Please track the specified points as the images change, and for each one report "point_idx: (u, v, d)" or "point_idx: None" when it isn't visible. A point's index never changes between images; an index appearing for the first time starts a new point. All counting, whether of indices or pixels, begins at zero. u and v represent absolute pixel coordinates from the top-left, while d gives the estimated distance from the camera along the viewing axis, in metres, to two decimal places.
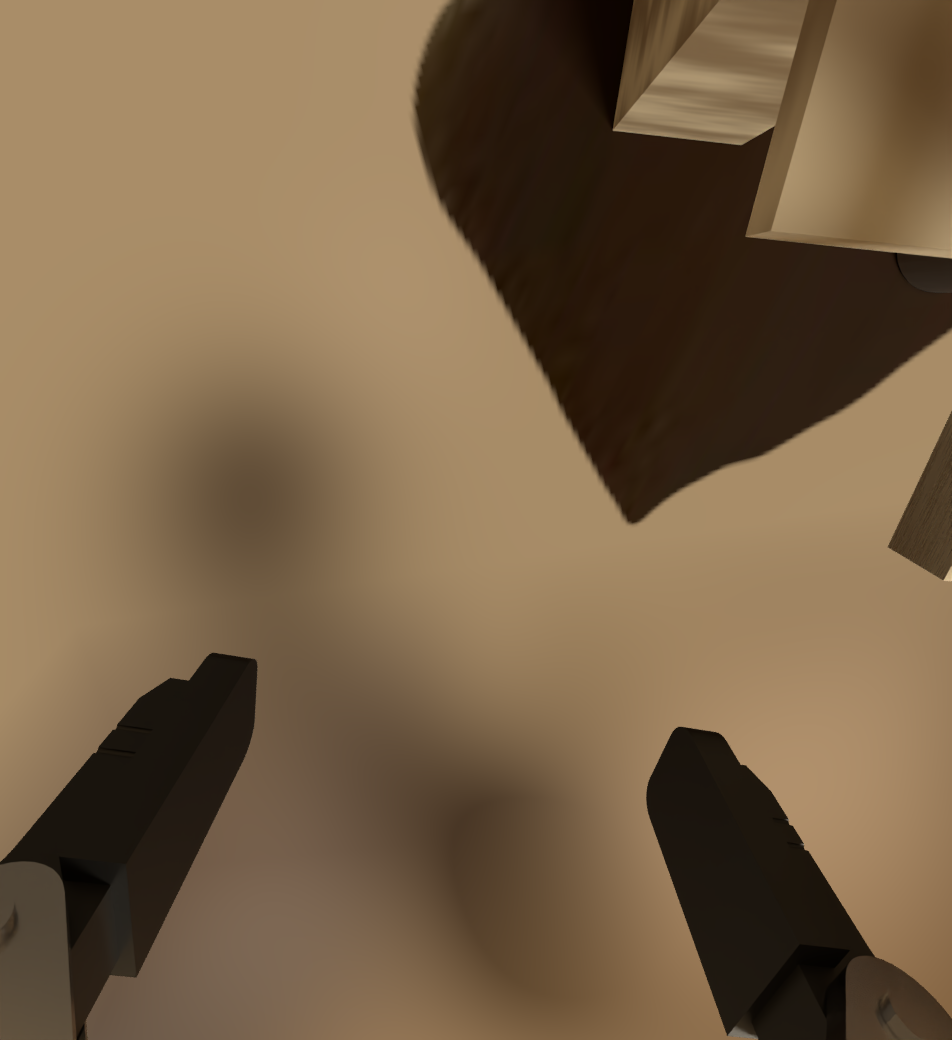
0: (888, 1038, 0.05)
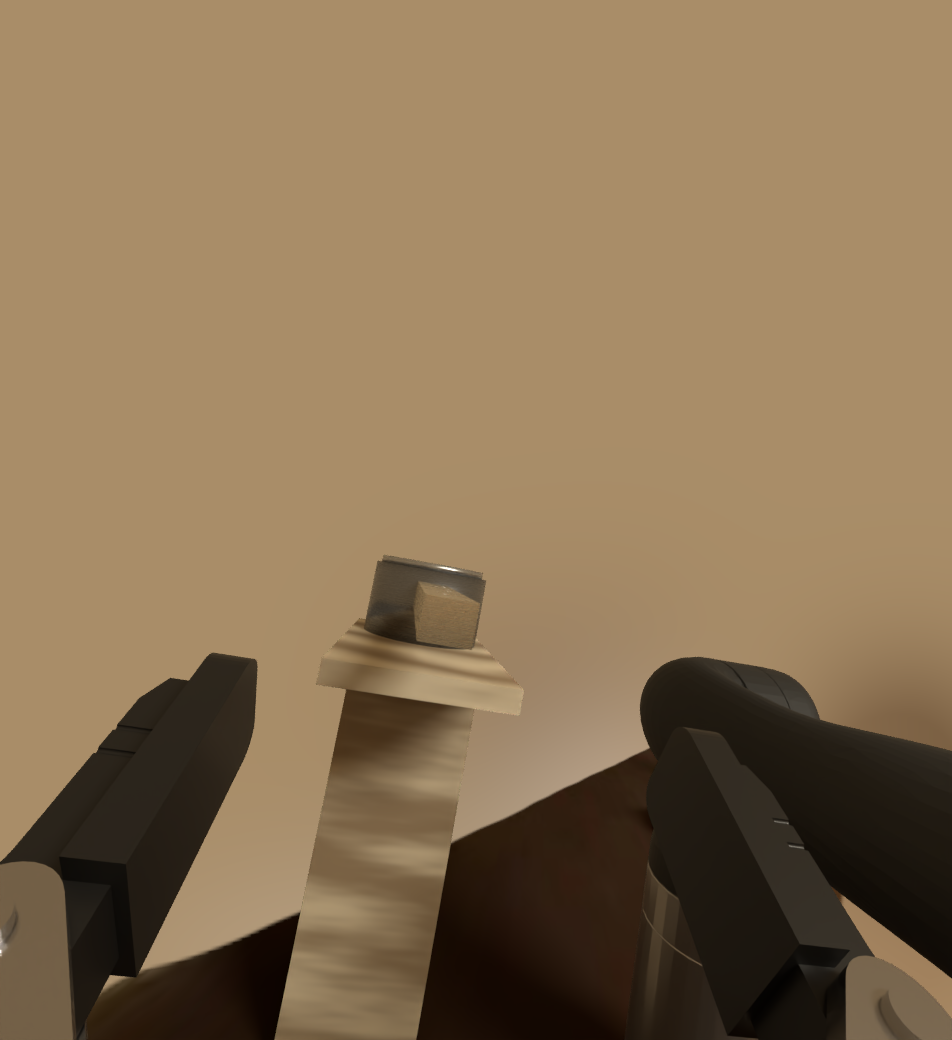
0: (888, 1038, 0.05)
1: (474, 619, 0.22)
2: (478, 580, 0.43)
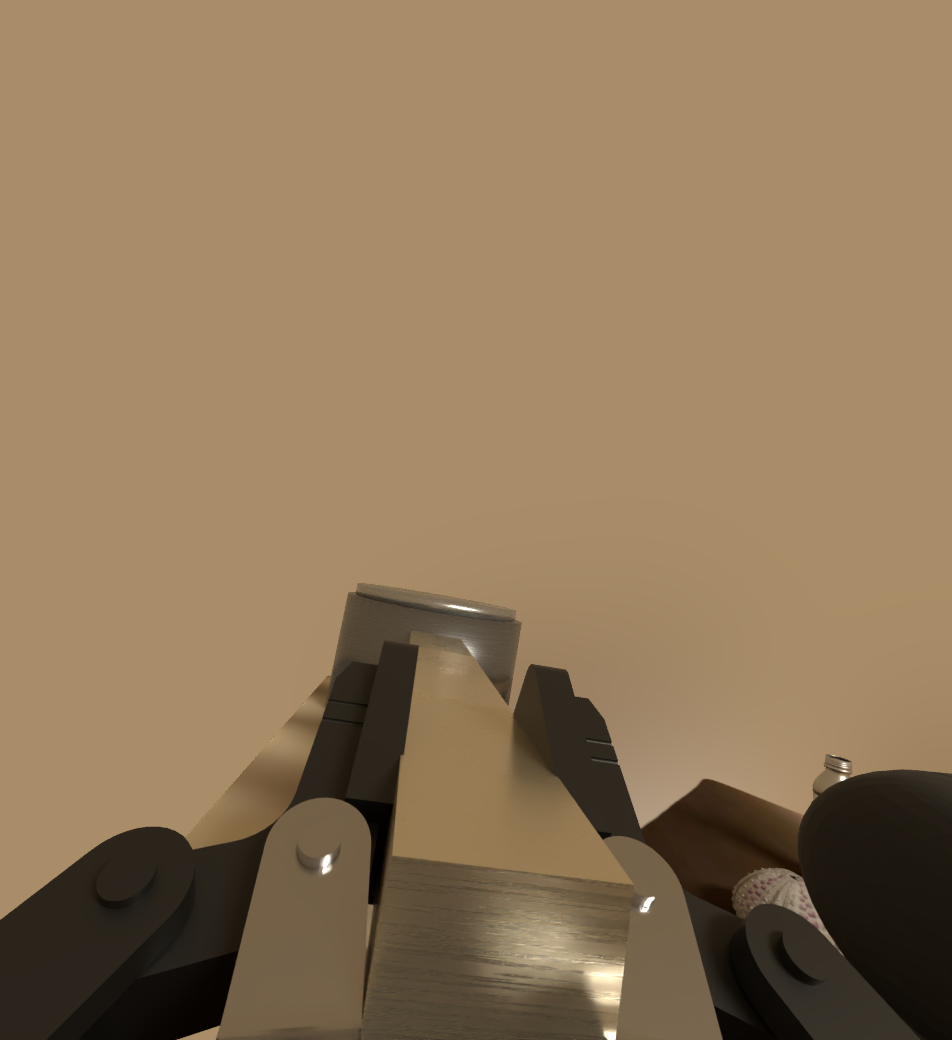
0: None
1: (612, 959, 0.05)
2: (511, 625, 0.26)
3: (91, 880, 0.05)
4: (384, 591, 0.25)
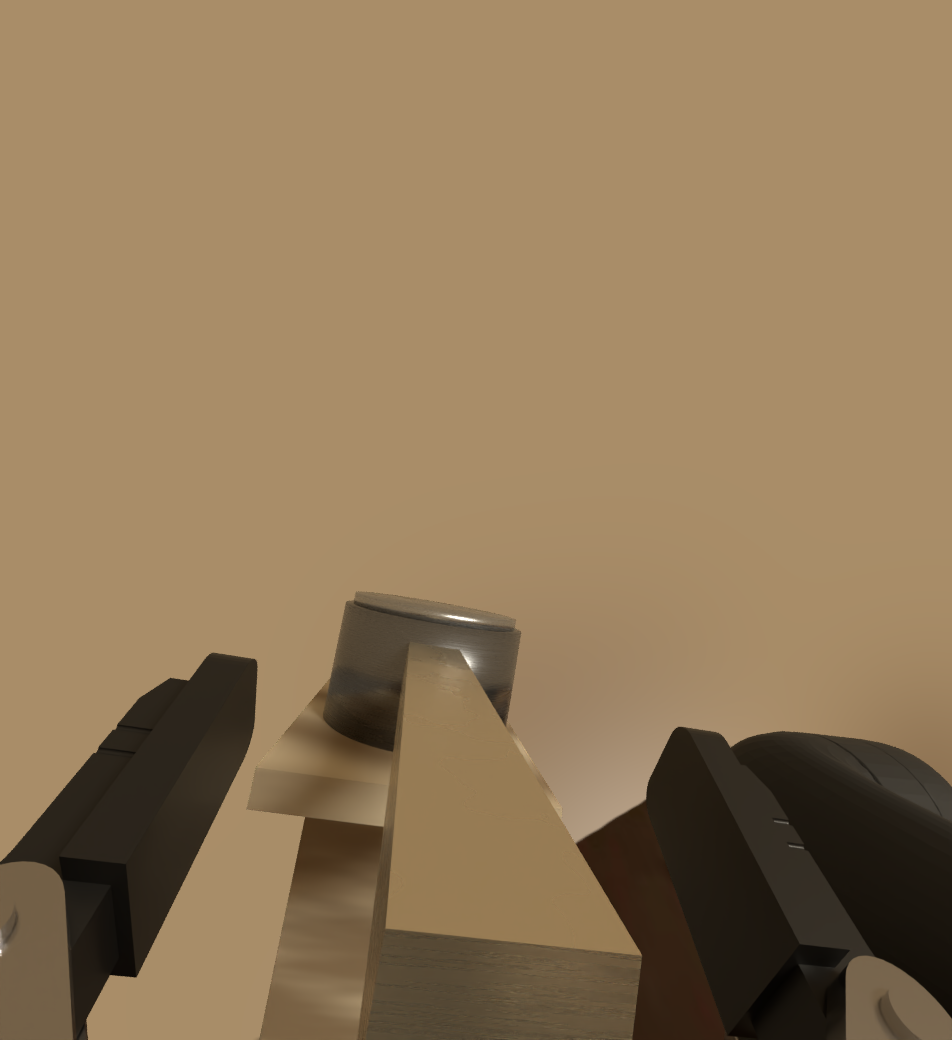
0: (889, 1038, 0.05)
1: (619, 1035, 0.05)
2: (511, 635, 0.26)
3: None
4: (382, 601, 0.25)
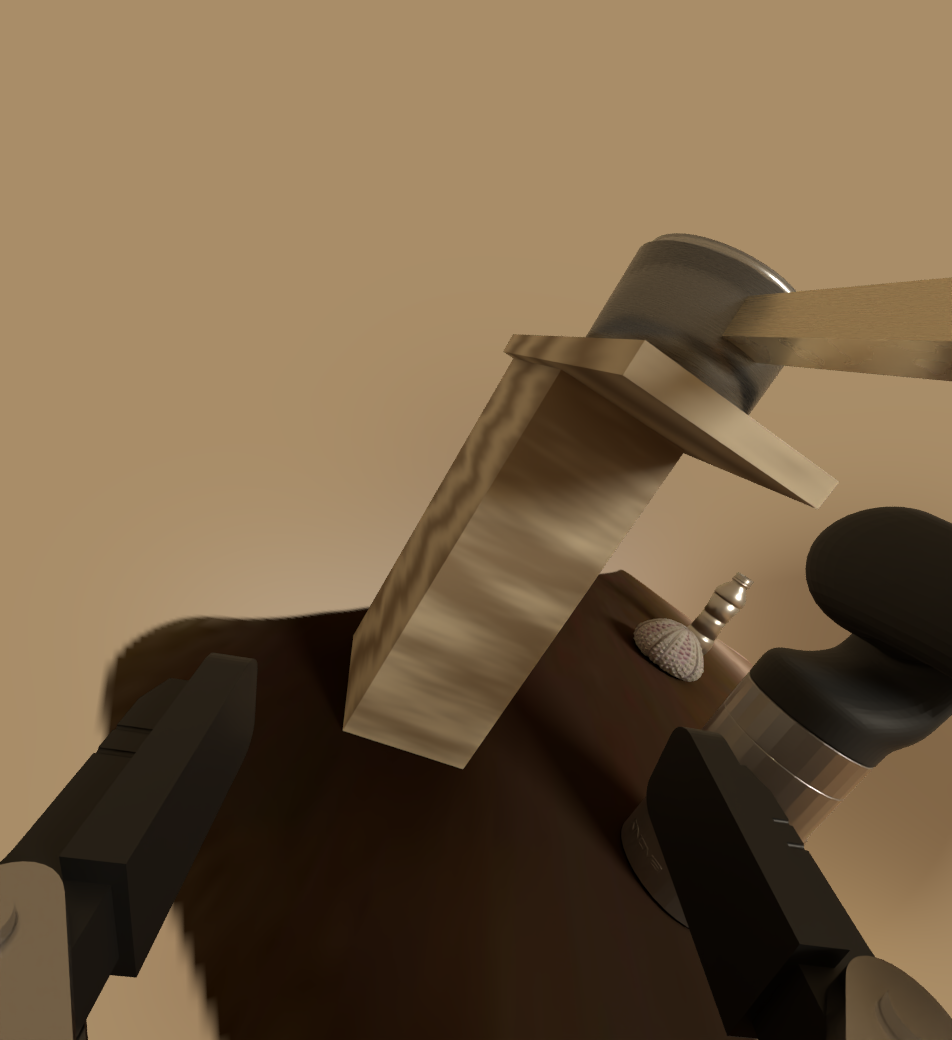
0: (888, 1038, 0.05)
1: None
2: None
3: None
4: (727, 246, 0.23)
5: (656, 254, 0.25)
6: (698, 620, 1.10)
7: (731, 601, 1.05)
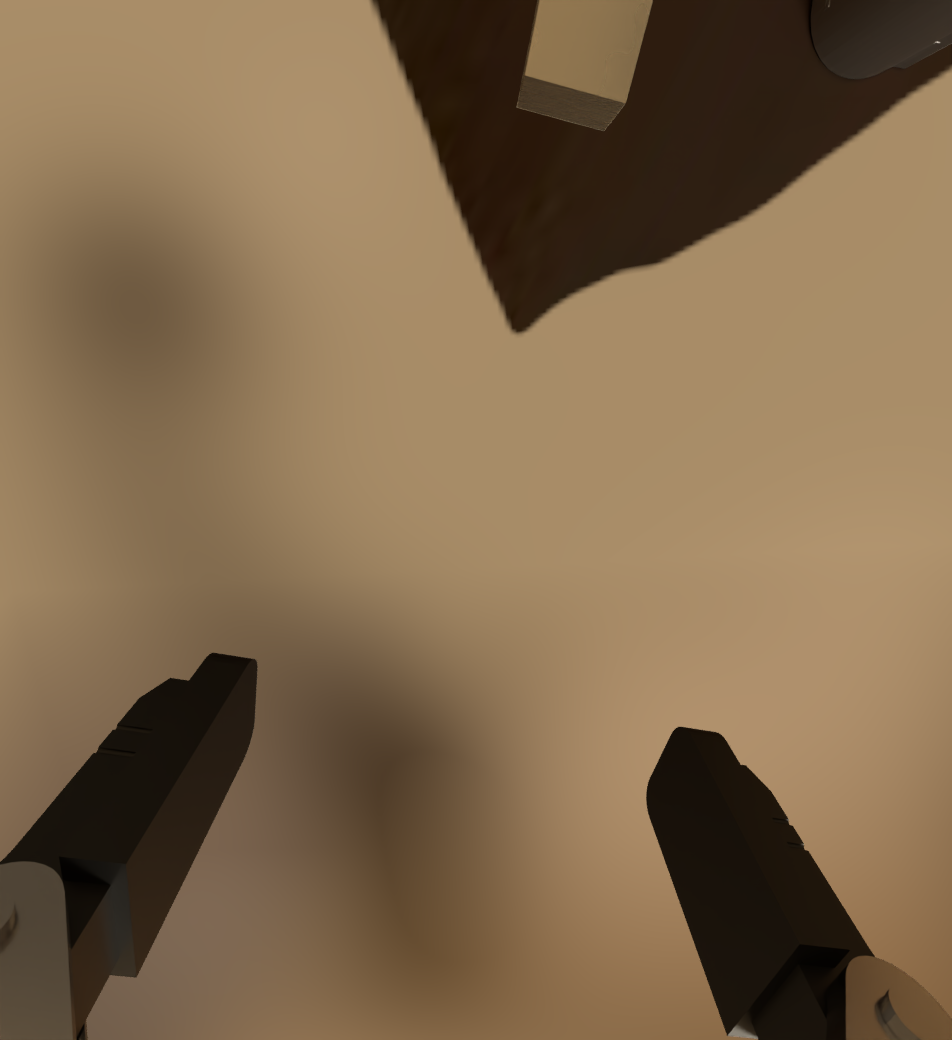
0: (889, 1038, 0.05)
1: (613, 111, 0.12)
2: None
3: None
4: None
5: None
6: None
7: None
